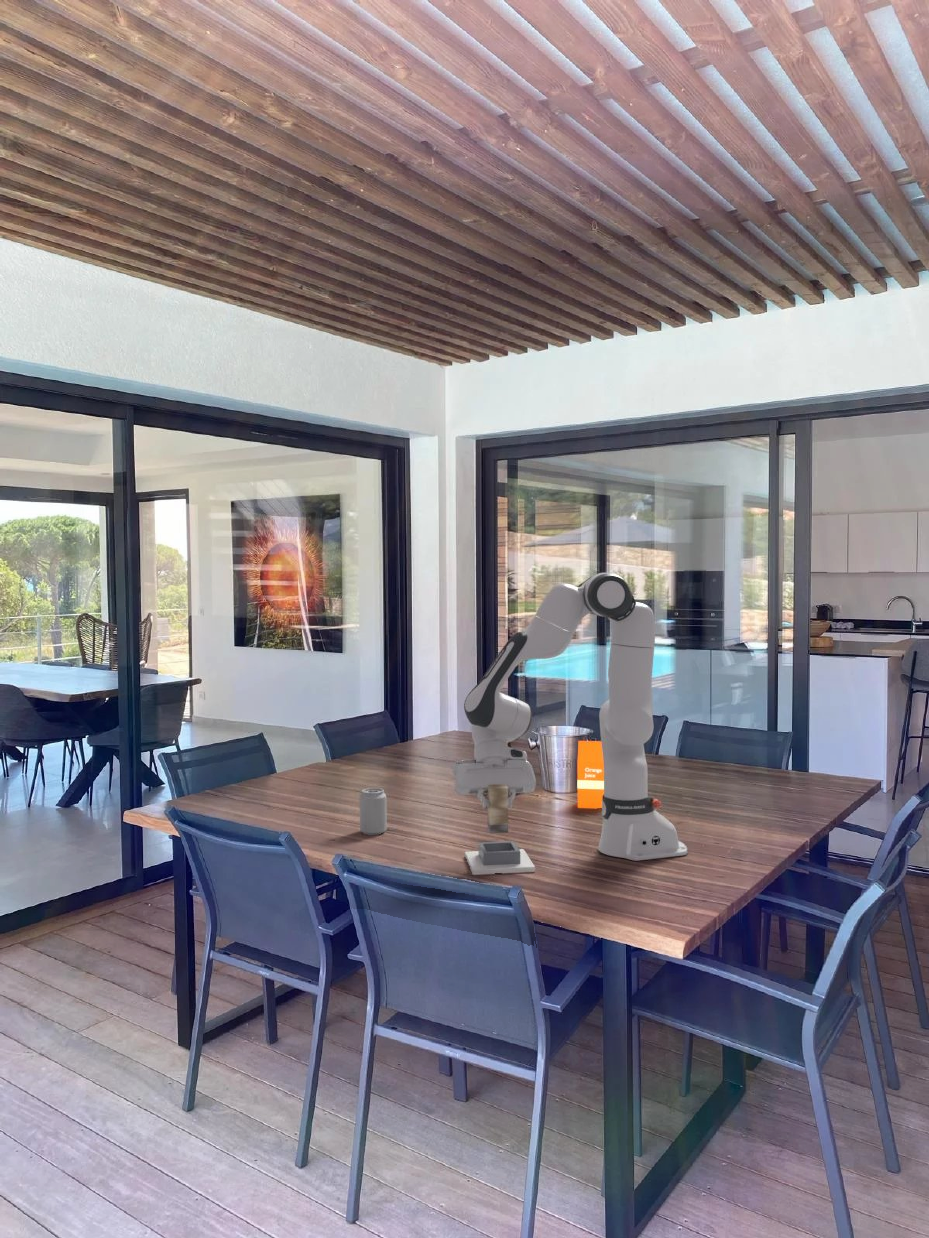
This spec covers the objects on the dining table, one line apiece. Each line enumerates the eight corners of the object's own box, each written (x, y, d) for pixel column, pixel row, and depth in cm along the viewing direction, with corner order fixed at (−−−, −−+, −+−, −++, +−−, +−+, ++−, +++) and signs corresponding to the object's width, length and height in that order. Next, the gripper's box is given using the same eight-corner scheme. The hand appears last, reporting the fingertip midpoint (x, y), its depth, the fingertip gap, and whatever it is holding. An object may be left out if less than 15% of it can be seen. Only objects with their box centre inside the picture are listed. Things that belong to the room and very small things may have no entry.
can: (387, 828, 262) (387, 786, 261) (386, 835, 254) (385, 792, 254) (361, 829, 262) (360, 787, 261) (359, 836, 254) (358, 793, 254)
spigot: (505, 827, 230) (505, 783, 230) (508, 832, 226) (508, 787, 225) (487, 828, 229) (487, 784, 229) (490, 833, 225) (490, 788, 225)
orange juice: (606, 808, 281) (606, 743, 280) (577, 807, 283) (576, 742, 282) (607, 802, 289) (607, 739, 288) (579, 801, 291) (579, 738, 290)
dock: (523, 853, 236) (523, 837, 236) (535, 871, 221) (534, 854, 221) (465, 856, 234) (465, 839, 234) (472, 874, 220) (472, 857, 219)
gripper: (452, 753, 232) (457, 801, 223) (532, 751, 235) (540, 798, 226) (450, 767, 237) (455, 815, 228) (529, 765, 240) (536, 812, 230)
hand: (498, 807), depth 227 cm, fingers closed on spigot, 4 cm apart
